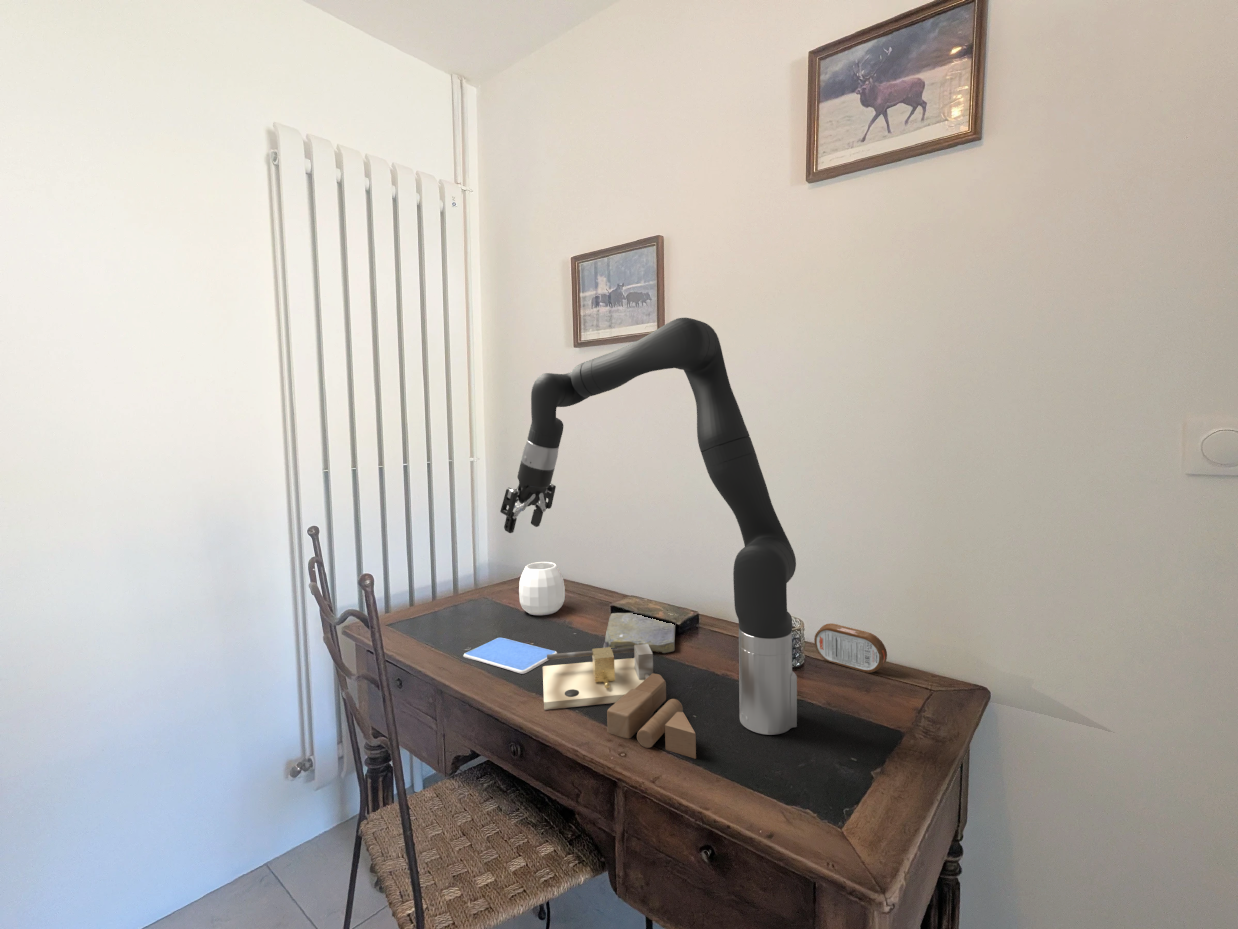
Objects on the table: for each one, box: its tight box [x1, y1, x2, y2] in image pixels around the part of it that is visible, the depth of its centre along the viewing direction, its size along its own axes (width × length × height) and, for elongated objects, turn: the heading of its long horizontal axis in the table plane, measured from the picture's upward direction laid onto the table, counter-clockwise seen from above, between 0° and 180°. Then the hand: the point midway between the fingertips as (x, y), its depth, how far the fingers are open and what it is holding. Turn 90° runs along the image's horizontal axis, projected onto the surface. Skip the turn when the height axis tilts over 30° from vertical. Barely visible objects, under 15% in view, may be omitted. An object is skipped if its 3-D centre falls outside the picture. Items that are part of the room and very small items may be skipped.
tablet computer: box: [463, 637, 558, 675], centre depth 135 cm, size 19×13×1 cm, turn 57°
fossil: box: [603, 612, 676, 654], centre depth 143 cm, size 20×5×17 cm
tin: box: [814, 623, 888, 673], centre depth 124 cm, size 15×3×8 cm, turn 47°
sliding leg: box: [591, 647, 615, 688], centre depth 117 cm, size 4×8×5 cm, turn 8°
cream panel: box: [542, 644, 654, 711], centre depth 118 cm, size 23×16×7 cm
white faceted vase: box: [518, 561, 566, 616], centre depth 164 cm, size 13×13×14 cm
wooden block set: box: [606, 672, 697, 760], centre depth 103 cm, size 17×6×18 cm
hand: (522, 528), depth 130 cm, fingers open, 8 cm apart
